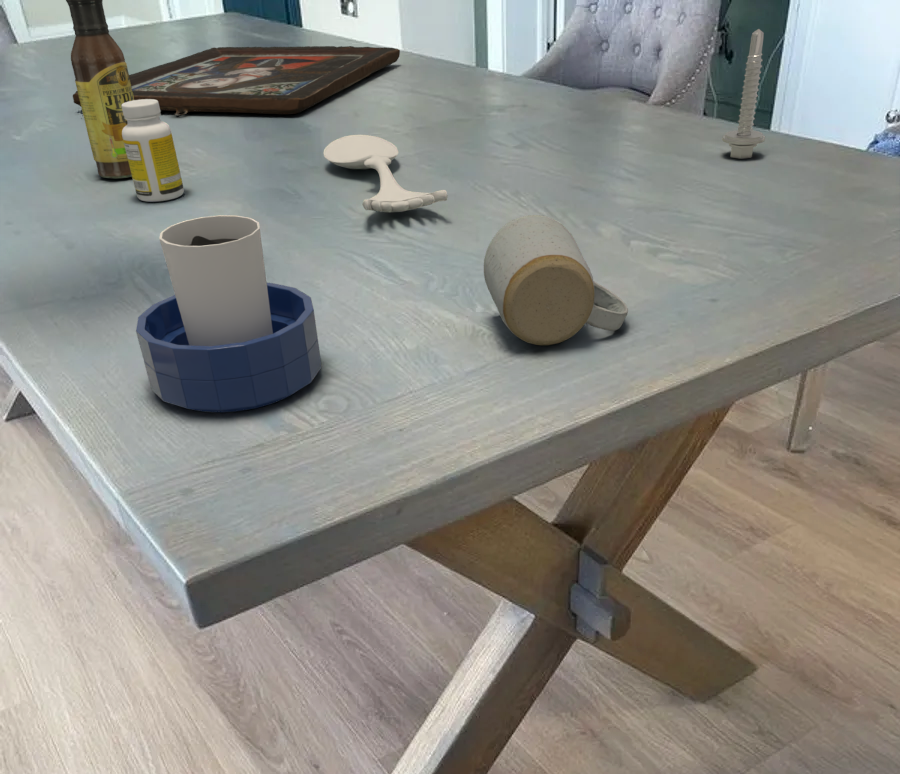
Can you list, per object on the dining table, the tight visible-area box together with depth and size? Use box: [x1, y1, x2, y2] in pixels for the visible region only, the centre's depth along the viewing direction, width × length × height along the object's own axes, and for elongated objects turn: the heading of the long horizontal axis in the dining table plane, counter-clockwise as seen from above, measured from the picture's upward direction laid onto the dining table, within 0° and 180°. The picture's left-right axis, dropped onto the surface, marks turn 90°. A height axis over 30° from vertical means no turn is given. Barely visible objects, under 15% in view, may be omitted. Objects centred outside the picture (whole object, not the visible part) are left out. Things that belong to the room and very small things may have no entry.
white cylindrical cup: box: [158, 214, 273, 346], centre depth 65 cm, size 7×7×10 cm
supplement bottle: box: [122, 99, 185, 203], centre depth 106 cm, size 5×5×10 cm
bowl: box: [135, 282, 323, 413], centre depth 67 cm, size 12×12×5 cm
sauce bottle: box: [65, 0, 134, 179], centre depth 111 cm, size 6×6×20 cm
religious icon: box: [72, 45, 401, 116], centre depth 159 cm, size 40×45×3 cm
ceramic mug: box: [483, 214, 629, 346], centre depth 71 cm, size 11×8×8 cm
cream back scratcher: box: [323, 134, 449, 213], centre depth 106 cm, size 9×32×4 cm, turn 15°
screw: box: [721, 28, 766, 160], centre depth 107 cm, size 13×5×5 cm
